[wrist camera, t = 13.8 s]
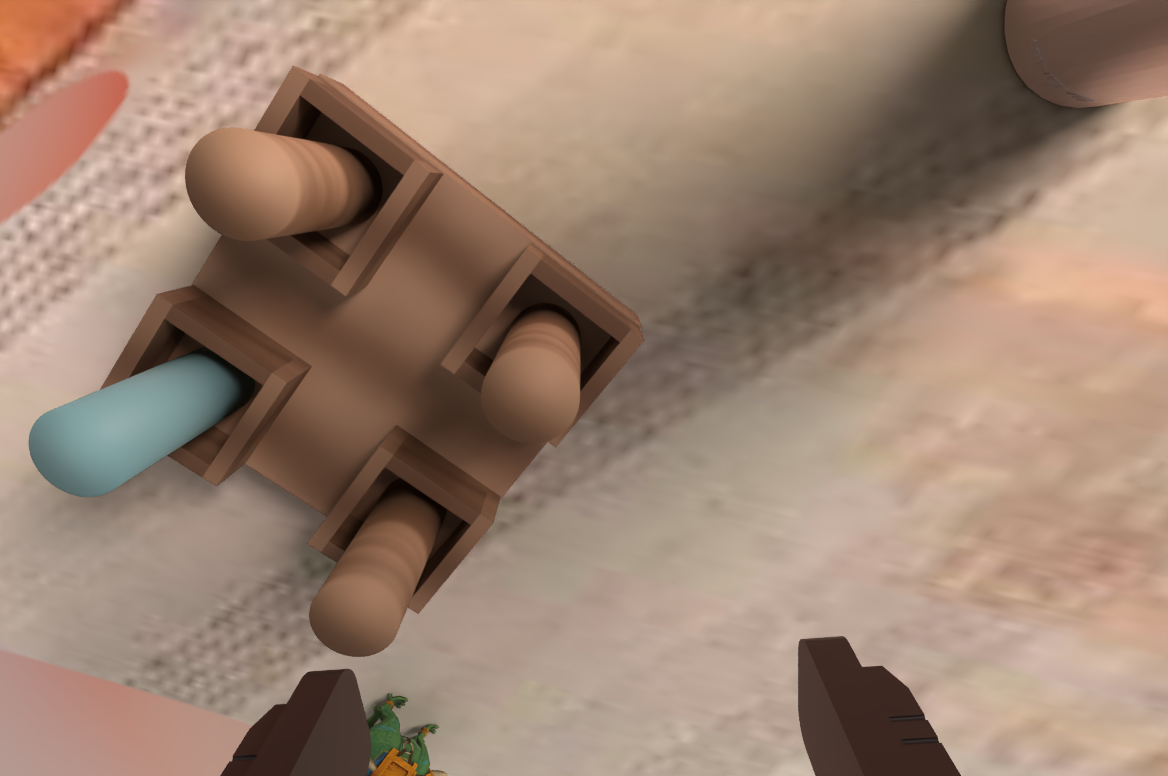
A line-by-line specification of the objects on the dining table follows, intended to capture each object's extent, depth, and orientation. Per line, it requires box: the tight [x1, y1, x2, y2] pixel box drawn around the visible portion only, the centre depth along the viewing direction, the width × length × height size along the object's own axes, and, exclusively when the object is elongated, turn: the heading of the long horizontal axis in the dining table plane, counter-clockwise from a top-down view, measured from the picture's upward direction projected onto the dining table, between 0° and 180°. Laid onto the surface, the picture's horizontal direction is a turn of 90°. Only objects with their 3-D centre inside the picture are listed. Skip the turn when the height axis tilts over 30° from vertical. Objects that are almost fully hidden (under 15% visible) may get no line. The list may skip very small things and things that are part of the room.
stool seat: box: [100, 66, 644, 657], centre depth 31 cm, size 19×19×13 cm
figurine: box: [366, 694, 448, 776], centre depth 40 cm, size 3×12×8 cm, turn 44°
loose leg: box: [29, 346, 255, 497], centre depth 29 cm, size 4×4×10 cm
